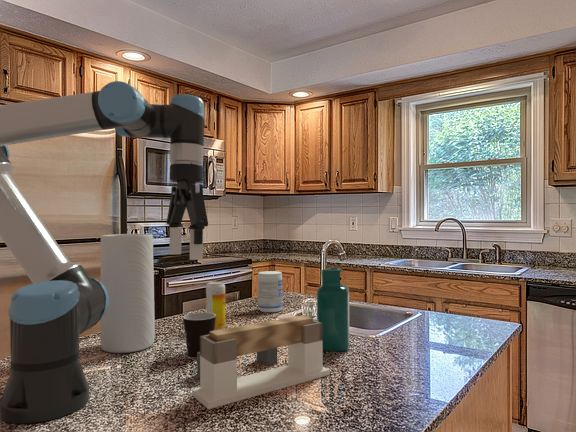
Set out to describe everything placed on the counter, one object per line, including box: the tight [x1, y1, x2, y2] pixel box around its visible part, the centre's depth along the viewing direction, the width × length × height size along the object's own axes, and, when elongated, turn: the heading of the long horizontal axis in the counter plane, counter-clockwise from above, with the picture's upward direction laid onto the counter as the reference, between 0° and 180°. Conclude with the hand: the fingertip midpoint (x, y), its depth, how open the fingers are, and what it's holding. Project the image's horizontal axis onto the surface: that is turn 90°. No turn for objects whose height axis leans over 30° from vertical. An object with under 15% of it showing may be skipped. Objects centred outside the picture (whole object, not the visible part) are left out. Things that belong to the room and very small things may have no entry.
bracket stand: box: [191, 319, 331, 410], centre depth 93 cm, size 30×8×12 cm, turn 125°
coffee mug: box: [182, 312, 216, 359], centre depth 116 cm, size 12×9×10 cm
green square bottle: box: [316, 267, 351, 352], centre depth 119 cm, size 10×8×22 cm
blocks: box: [196, 348, 278, 377], centre depth 103 cm, size 19×5×5 cm, turn 125°
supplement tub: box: [257, 270, 284, 313], centre depth 166 cm, size 10×10×15 cm
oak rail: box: [210, 314, 314, 357], centre depth 93 cm, size 24×4×5 cm, turn 125°
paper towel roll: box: [99, 233, 156, 354], centre depth 121 cm, size 14×14×32 cm
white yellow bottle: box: [205, 281, 227, 331], centre depth 139 cm, size 6×6×15 cm
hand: (185, 256), depth 99 cm, fingers open, 13 cm apart
